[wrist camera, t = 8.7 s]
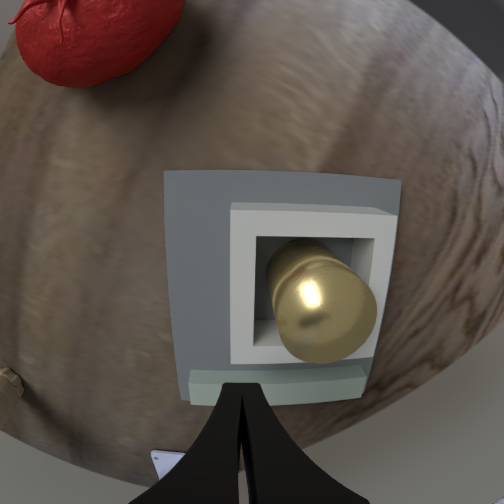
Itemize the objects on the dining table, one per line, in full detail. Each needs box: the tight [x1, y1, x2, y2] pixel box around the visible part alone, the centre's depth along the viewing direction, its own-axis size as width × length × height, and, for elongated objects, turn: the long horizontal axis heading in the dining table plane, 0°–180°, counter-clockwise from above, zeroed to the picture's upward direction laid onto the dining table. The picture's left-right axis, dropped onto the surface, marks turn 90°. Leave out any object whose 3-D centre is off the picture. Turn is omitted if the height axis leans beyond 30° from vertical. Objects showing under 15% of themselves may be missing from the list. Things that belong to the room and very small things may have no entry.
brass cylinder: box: [266, 238, 377, 364], centre depth 16 cm, size 4×4×6 cm
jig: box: [164, 170, 401, 406], centre depth 18 cm, size 16×14×4 cm
